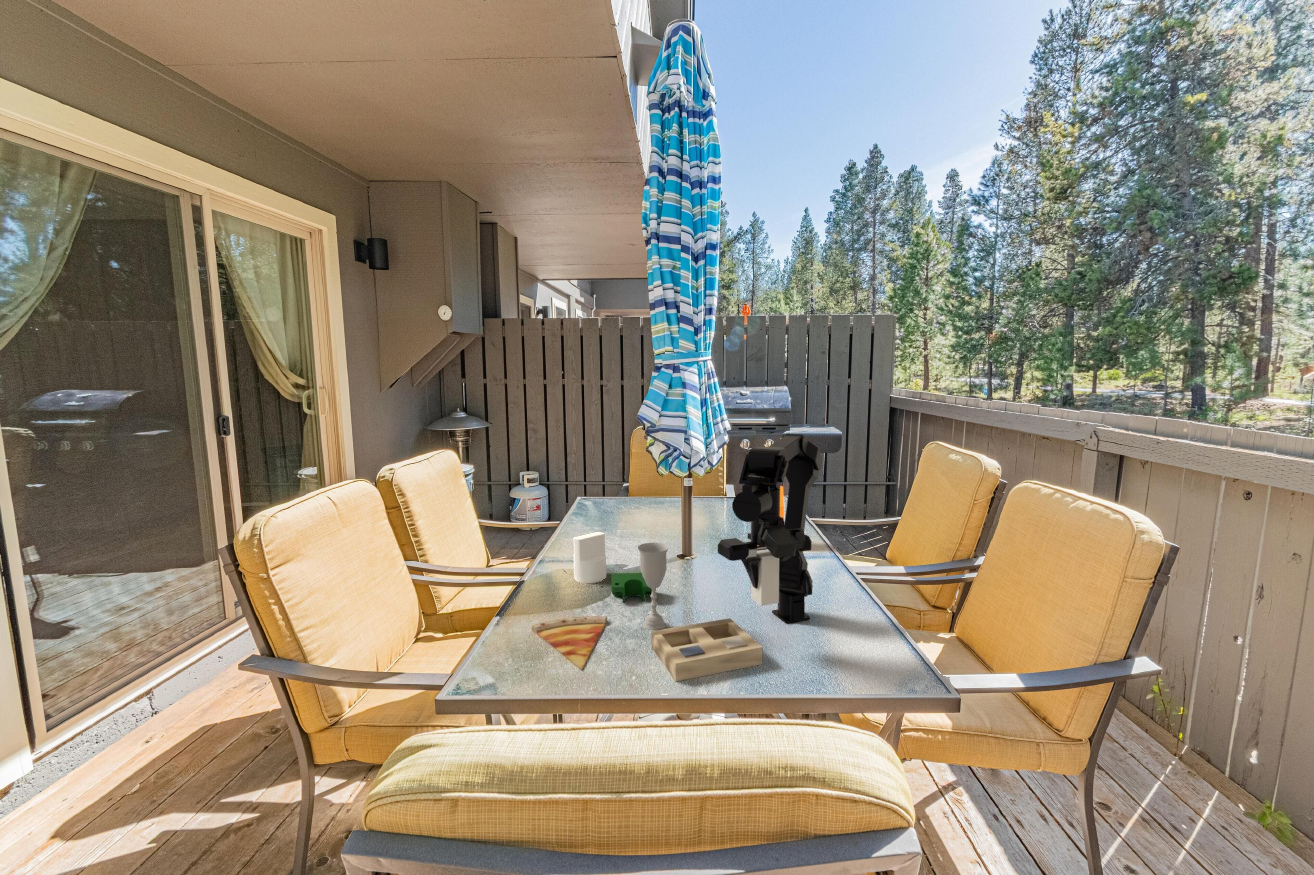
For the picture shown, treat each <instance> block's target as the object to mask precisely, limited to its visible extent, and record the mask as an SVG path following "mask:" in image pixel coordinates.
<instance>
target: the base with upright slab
mask: <svg viewBox="0 0 1314 875" xmlns="http://www.w3.org/2000/svg"><path fill="white" fill-rule="evenodd" d="M605 536H606V534H605V532H602V531H595V532H591V533H586V534H583V535H578V536H575V537H573V540H572V543H573V544H572V545H573V558H572V559H573V578H574V579H575V580H576V581H575V580H574V579H573V580H574V581H575V582H576V583H577V582H578V583H581V584H595V583H596V582H597V583H600V582H603V581H604V580H603V579H605V578H607V556H606V555H607V554H606V538H605ZM602 580H603V581H602ZM605 580H606V579H605ZM599 581H600V582H599Z"/></svg>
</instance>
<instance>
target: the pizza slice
mask: <svg viewBox="0 0 1314 875" xmlns="http://www.w3.org/2000/svg"><path fill="white" fill-rule="evenodd" d="M607 622H608V617H607V616H605V615H604V616H602V615H601V616H600V615H597V616H595V615H594V616H593V615H592V616H590V615H589V616H588V615H587V616H575V617H574V616H572V617H565V618H559V619H554V620H549V621H544V622H539V623H535V624H533V625H532V626H531V632H533V633H534V634H537V636H538V637H539V638H542V641H544V642H545V643H546V644H548V645H549V646H550V647H551V648H552V649H554V650H555V651H557V653H559V654H560V655H561V656H563V657H564V658H565V659H566V660H567V661H569V662H570V663H571V664H572V665H573V666H575V667H576V668H578V670H579V671H583V669H584V667H585V666H586V664H587V662H588V659H589V658H590V655H591V654H592V652H593V650H594V647H596V643H598V640H599V638H600V636H601V634H602V632H603V630H604V628H605V626H606V624H607Z"/></svg>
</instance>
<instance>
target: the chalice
mask: <svg viewBox="0 0 1314 875" xmlns="http://www.w3.org/2000/svg"><path fill="white" fill-rule="evenodd" d="M637 550H638V551H639V559H640V560H639V561H640V564H639V566H640V567H639V568H640V569H639V570H640V571H641V572H640V573H642V575H643V578H644V580H645V582H646V584H647V586H648V587H649V588H651V589H652V594H651V595H650V598H651V602H650V607H651V611H650V612H649V613H648V614H647V615H646V617H645V619H644V622H643V624H642V626H643V628H645V629H647V630H651V631H657V630H663V629H665V627H666V623H665V620H664V619H663V616H662V614H661V613H660V612H658V611H657V606H658V605H659V603H658V602H657V599H658V594H657V589H658V588H660V587H661V585H662V583H663V580H664V578H665V575H666V573H667V568H668V566H667V552H668V550H669V546H668V545H667V544H665V543H662V542H645V543H640V544H639V545H638V546H637Z"/></svg>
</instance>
